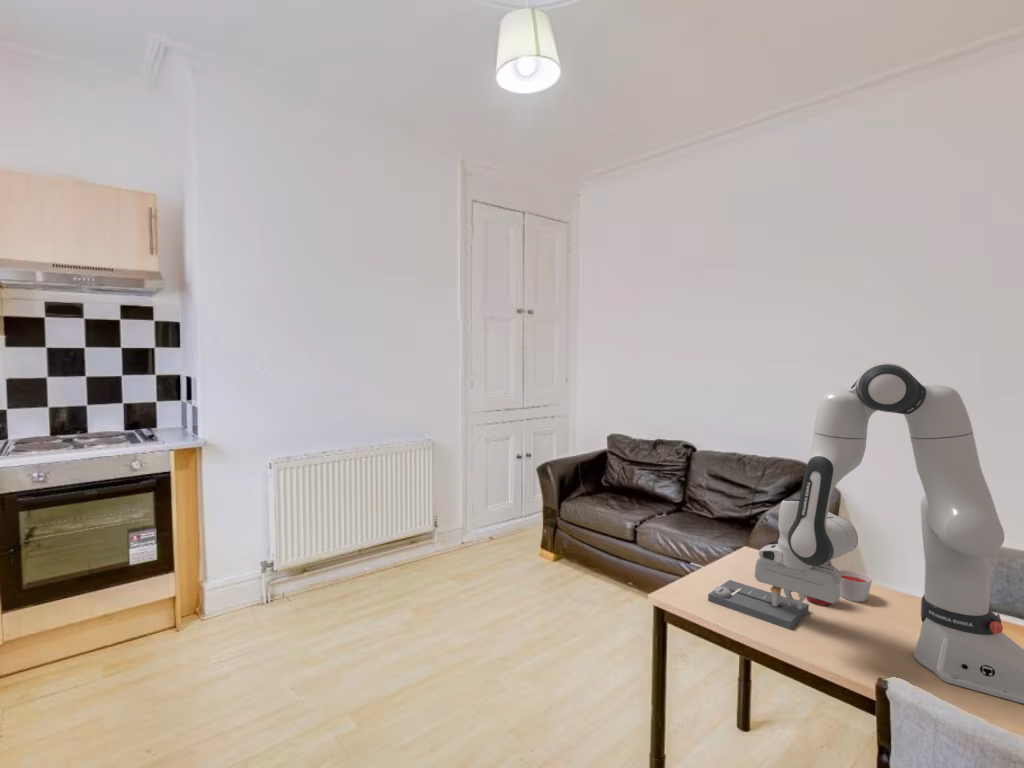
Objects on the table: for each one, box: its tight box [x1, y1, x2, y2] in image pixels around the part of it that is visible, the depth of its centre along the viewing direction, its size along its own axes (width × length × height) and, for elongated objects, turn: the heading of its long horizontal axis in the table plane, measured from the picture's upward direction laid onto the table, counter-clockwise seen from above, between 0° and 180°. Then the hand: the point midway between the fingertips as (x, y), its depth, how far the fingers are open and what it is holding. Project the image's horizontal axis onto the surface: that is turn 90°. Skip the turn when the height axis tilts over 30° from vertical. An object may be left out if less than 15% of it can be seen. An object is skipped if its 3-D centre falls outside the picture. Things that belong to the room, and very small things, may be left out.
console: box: [707, 579, 810, 630], centre depth 145 cm, size 22×14×4 cm, turn 43°
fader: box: [770, 585, 783, 607], centre depth 141 cm, size 2×4×5 cm, turn 133°
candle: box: [838, 569, 873, 603], centre depth 150 cm, size 9×9×6 cm
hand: (795, 607), depth 138 cm, fingers closed
